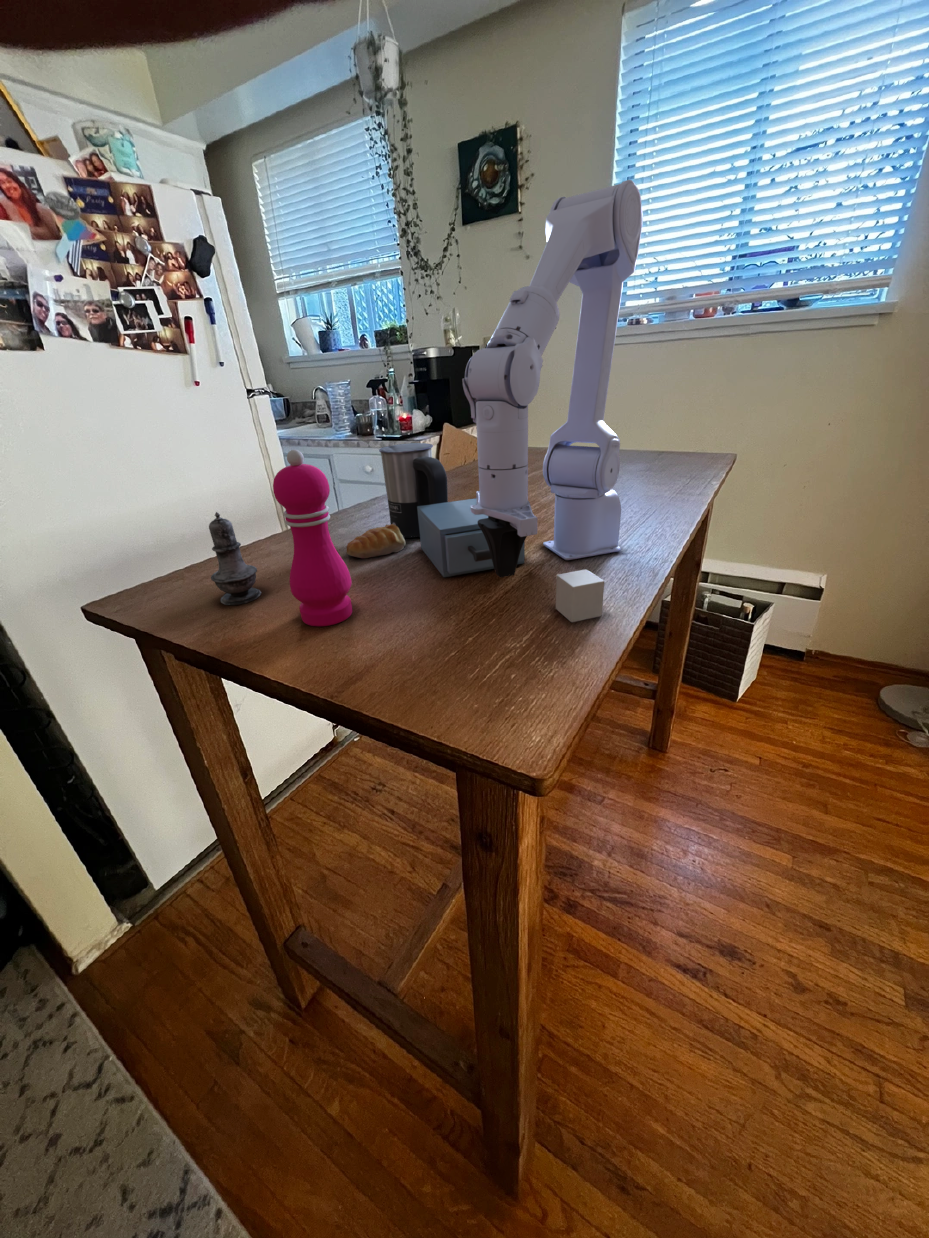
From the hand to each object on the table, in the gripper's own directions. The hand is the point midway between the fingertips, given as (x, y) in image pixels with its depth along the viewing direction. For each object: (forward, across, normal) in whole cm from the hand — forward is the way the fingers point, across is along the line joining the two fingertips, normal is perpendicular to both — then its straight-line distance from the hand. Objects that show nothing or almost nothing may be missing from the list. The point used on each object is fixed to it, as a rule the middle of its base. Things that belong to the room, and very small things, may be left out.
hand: (505, 574), depth 64 cm
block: (+3, +8, +6) cm, 10 cm away
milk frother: (+3, -33, 0) cm, 33 cm away
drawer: (+2, -12, 0) cm, 12 cm away
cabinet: (+3, -16, 0) cm, 16 cm away
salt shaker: (+3, -15, -34) cm, 37 cm away
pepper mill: (+3, -4, -22) cm, 23 cm away
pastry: (+3, -25, -12) cm, 28 cm away
